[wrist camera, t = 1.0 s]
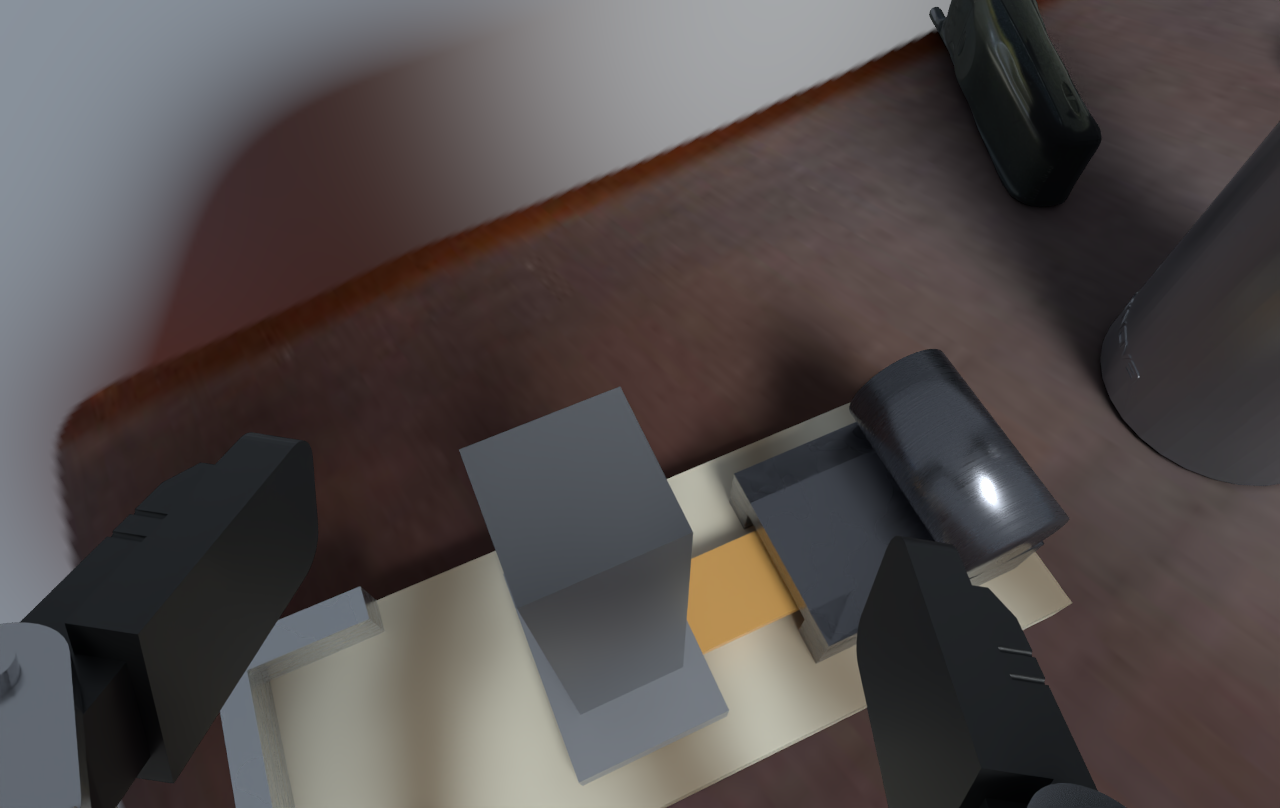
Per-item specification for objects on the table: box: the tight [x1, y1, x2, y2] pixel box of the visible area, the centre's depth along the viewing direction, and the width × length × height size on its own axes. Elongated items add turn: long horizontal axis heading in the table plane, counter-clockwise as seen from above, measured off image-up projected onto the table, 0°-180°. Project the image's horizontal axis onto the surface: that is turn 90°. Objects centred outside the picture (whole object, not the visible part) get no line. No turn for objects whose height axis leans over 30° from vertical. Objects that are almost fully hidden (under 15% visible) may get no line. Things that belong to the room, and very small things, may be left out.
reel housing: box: [729, 349, 1069, 664], centre depth 26 cm, size 8×6×6 cm
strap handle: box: [459, 387, 799, 786], centre depth 22 cm, size 17×7×13 cm, turn 114°
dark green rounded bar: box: [929, 0, 1101, 206], centre depth 40 cm, size 5×3×15 cm
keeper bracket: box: [220, 586, 385, 808], centre depth 25 cm, size 5×10×2 cm, turn 24°
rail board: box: [270, 402, 1072, 808], centre depth 28 cm, size 27×10×2 cm, turn 114°
